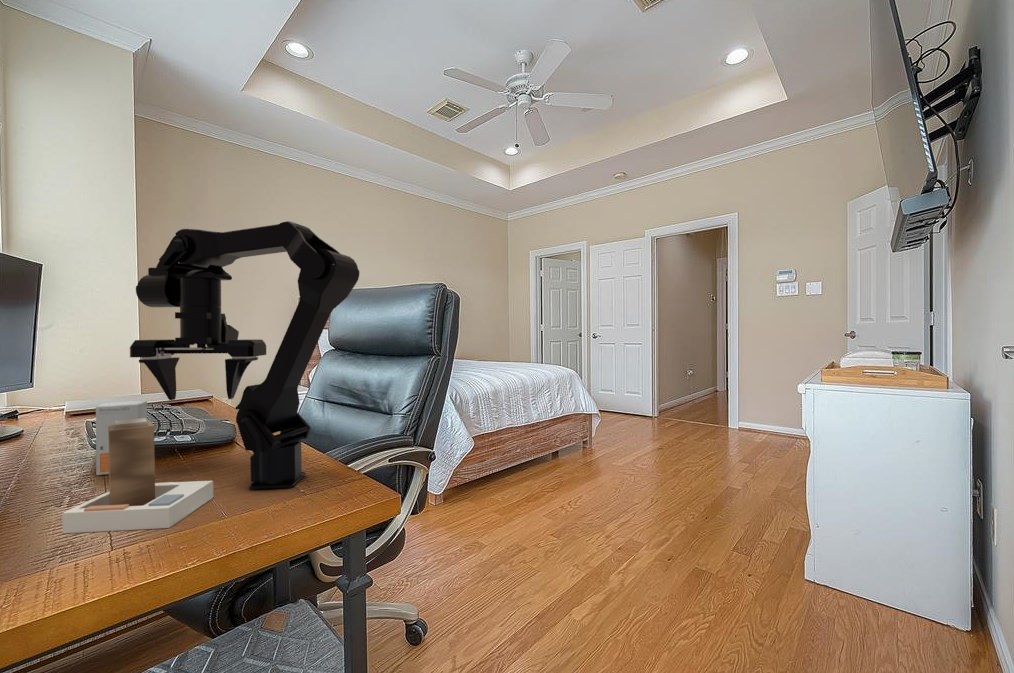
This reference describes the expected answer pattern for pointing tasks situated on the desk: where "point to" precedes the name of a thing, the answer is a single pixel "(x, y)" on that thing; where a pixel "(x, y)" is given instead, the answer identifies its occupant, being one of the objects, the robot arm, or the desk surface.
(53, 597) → the desk surface
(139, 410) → the skincare box
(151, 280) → the robot arm
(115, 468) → the walnut plug
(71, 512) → the tray
